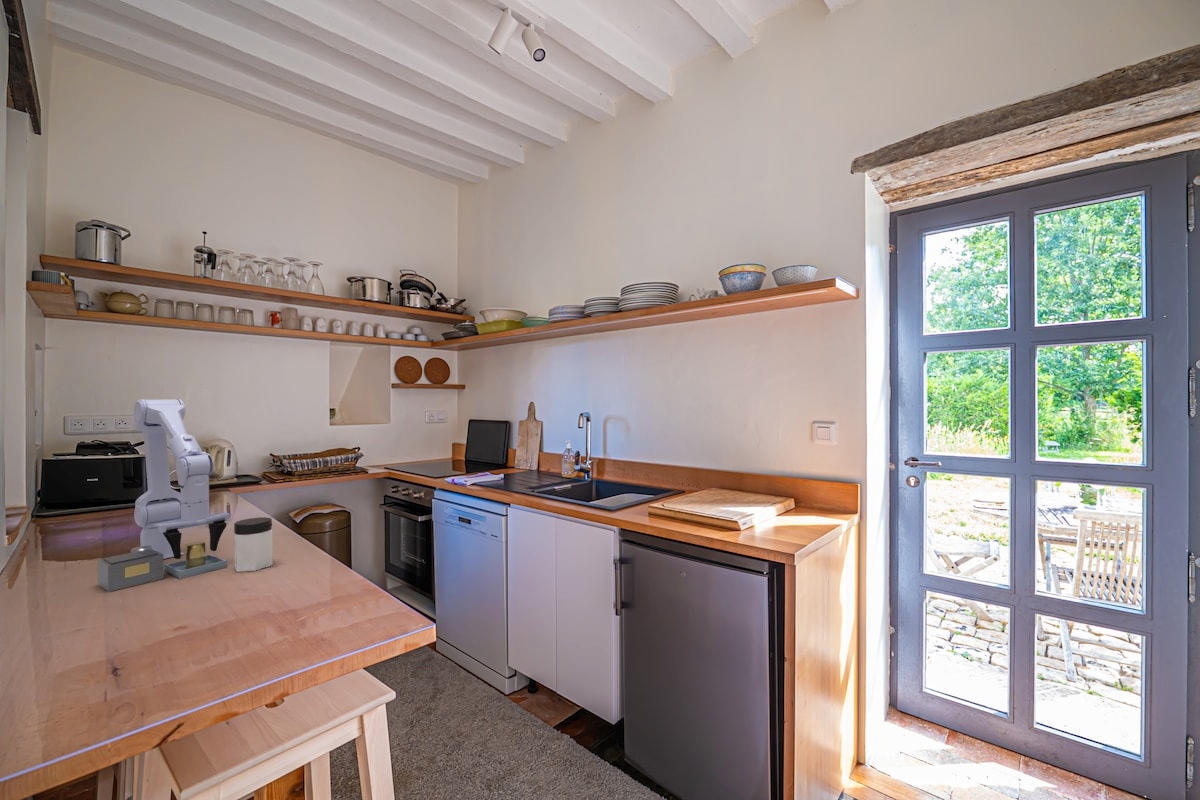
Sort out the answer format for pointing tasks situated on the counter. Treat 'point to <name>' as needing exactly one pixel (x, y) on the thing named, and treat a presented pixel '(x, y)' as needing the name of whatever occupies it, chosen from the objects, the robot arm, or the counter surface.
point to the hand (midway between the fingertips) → (195, 554)
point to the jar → (253, 544)
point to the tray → (180, 569)
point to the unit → (130, 569)
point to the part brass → (195, 554)
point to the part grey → (140, 548)
